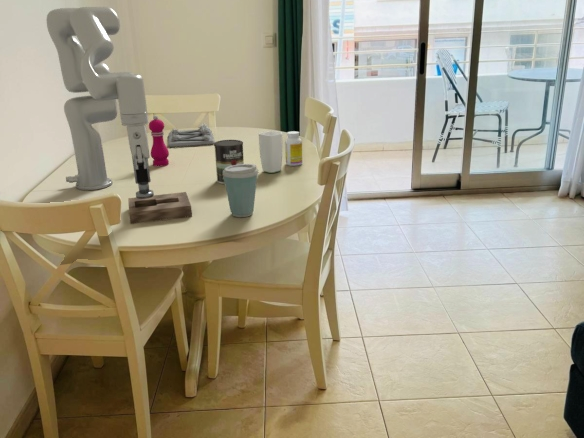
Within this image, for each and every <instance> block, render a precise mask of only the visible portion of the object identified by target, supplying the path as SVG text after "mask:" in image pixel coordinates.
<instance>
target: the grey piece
mask: <svg viewBox="0 0 584 438" xmlns="http://www.w3.org/2000/svg"><path fill="white" fill-rule="evenodd" d="M209 127H210V126H208V125H207V124H205V123H200V126H198V129H187V130H185V129H183V130H179V129H178V128H172V129H171V130H170V132H169V133H168V139H167V148H169V149H172V148H173V149H175V147H176V148H187V147H188V148H189V147H202V146H214V143H215V142H216V141H215V138H214V135H213V134H214V133H212V132H213V131H212V129H211V128H209Z"/></svg>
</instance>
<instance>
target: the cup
mask: <svg viewBox="0 0 584 438" xmlns="http://www.w3.org/2000/svg"><path fill="white" fill-rule="evenodd" d="M258 145H259V147H258V149H259V155H260V156H259V157H260V162H261V163H260V164H261V168H262V171H263V172H264V173H268V174H274V173H278V172H281V171H282V165H283V152H284V151H283V148H284V147H283V132H281V131H275V130H268V131H263V132H259V133H258Z"/></svg>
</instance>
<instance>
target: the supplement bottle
mask: <svg viewBox="0 0 584 438" xmlns="http://www.w3.org/2000/svg"><path fill="white" fill-rule="evenodd" d="M286 135H287V138H286V139H285V142H284V145H285V149H284V150H285V164H286V165H287V166H290V167H297V166H301V165H302V164H303V141H302V139H301V138H300V131H295V130H293V131H292V130H291V131H287V132H286Z"/></svg>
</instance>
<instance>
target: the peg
mask: <svg viewBox="0 0 584 438" xmlns="http://www.w3.org/2000/svg"><path fill="white" fill-rule="evenodd" d="M134 156H135V155H134ZM131 158H132V157H131ZM142 158H143V156H142ZM136 159H138V157H136ZM142 161H143V160H142ZM137 162H138V161H137ZM145 164H146V168H147V173H148V180H149V181H148V182H141V183H138V182H137V175H136V162H135V160H134V159H133V158H132V166H133V173H134V180H135V181H134V182H135V184H137V185H138V191H136V192H135V197H136V198H138V199H146V198H151V197H153V196H154V195H155V194H154V190H152V189H150V185H149V183H151V172H150V166H149V159H148V158H145Z"/></svg>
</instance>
